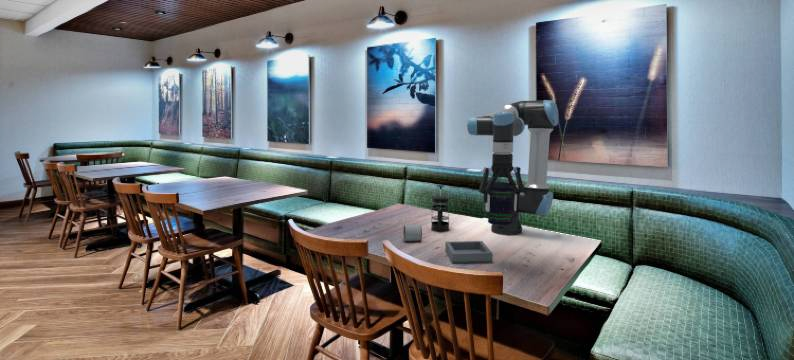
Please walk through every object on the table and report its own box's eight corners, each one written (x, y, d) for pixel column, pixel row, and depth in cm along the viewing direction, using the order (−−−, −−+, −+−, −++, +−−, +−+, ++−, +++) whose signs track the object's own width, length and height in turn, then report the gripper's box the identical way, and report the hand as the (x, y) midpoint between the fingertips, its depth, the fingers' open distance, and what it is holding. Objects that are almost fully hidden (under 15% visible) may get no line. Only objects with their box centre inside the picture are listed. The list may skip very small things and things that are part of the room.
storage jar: (484, 219, 166) (485, 182, 164) (508, 218, 167) (509, 182, 165) (491, 226, 157) (493, 187, 154) (517, 225, 157) (518, 186, 155)
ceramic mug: (422, 242, 191) (422, 226, 190) (405, 243, 190) (405, 227, 189) (418, 236, 202) (418, 220, 201) (401, 237, 201) (401, 221, 200)
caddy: (481, 249, 181) (482, 240, 180) (492, 262, 165) (492, 252, 164) (445, 250, 180) (445, 241, 179) (452, 263, 164) (452, 253, 164)
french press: (431, 226, 219) (432, 183, 216) (449, 227, 218) (450, 183, 214) (429, 232, 208) (430, 187, 204) (448, 233, 206) (449, 187, 203)
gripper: (476, 154, 153) (474, 213, 157) (535, 153, 155) (532, 211, 158) (471, 152, 160) (469, 208, 164) (527, 151, 162) (525, 207, 166)
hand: (500, 210), depth 161 cm, fingers closed on storage jar, 10 cm apart
